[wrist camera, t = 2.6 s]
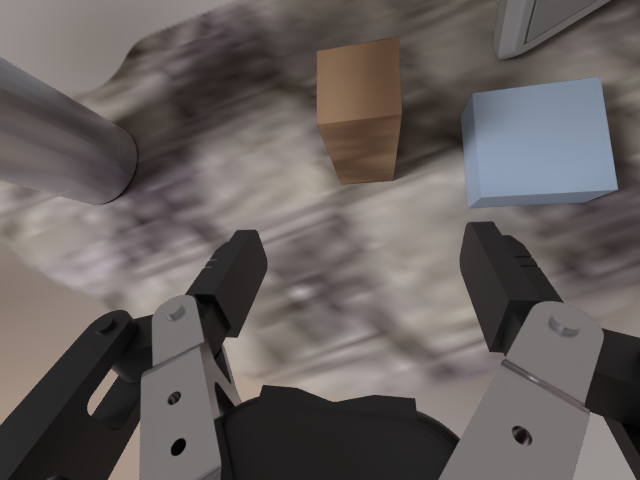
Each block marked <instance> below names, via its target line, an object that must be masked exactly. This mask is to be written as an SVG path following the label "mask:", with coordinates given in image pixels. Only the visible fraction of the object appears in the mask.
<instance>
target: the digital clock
mask: <svg viewBox="0 0 640 480" xmlns="http://www.w3.org/2000/svg"><path fill="white" fill-rule="evenodd" d="M496 1H497V2H498V3H499V6H498V12H497V19H496V25H495V31H494V40H493V50H494V54H495V56H496V57H497V58H498V59H500V60H505V59H508V58H511V57H514V56H517V55H520V54H522V53H524V52H526V51H528V50H530V49H531V48H533V47H535V46H536V45H538V44H540V43H541V42H543V41H545V40H546V39H548V38H550V37H551V36H553V35H555V34H556V33H558V32H560V31H561V30H563V29H564V28H566V27H568V26H569V25H571V24H573V23H574V22H576V21H578V20H579V19H581V18H582V17H584V16H586V15H587V14H589V13H591V12H592V11H594V10H596V9H597V8H599V7H601V6H602V5H604V4H605V3H607V2H609V1H610V0H496Z"/></svg>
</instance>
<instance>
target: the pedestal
mask: <svg viewBox="0 0 640 480" xmlns="http://www.w3.org/2000/svg"><path fill="white" fill-rule="evenodd" d="M461 125H462V138H463V151H464V164H465V176H466V189H467V202H468V208H480V207H500V206H521V205H541V204H561V203H581V202H587V201H589V200H592V199H595V198H597V197H600V196H603V195H605V194H608V193H611V192H613V191H616V190H618V186H617V180H616V173H615V167H614V161H613V154H612V148H611V142H610V135H609V129H608V123H607V116H606V110H605V104H604V97H603V91H602V85H601V78H600V77H594V78H587V79H579V80H571V81H563V82H555V83H548V84H540V85H532V86H524V87H517V88H509V89H501V90H493V91H486V92H478V93H472V95H471V97H470V99H469V101H468V103H467V105H466V107H465V109H464V111H463V113H462V115H461Z"/></svg>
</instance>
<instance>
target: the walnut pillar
mask: <svg viewBox="0 0 640 480" xmlns="http://www.w3.org/2000/svg"><path fill="white" fill-rule="evenodd" d="M401 117H402V105H401V83H400V61H399V39H398V37H394V38H389V39H383V40H377V41H372V42H366V43H361V44H355V45H349V46H344V47H338V48H332V49H327V50H321V51H317V126H318V128H319V131H320V133H321V136H322V138H323V141H324V143H325V146H326V148H327V150H328V153H329V155H330V158H331V160H332V163H333V165H334V168H335V170H336V172H337V175H338V177H339V180H340V182H341V185H343V184H357V183H371V182H385V181H393V178H394V170H395V163H396V155H397V148H398V140H399V133H400V125H401Z"/></svg>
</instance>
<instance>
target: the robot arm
mask: <svg viewBox="0 0 640 480" xmlns="http://www.w3.org/2000/svg"><path fill="white" fill-rule="evenodd" d="M136 163H137V150H136V145H135V142H134V140H133V138H132V137H131V136H130V134H129V133H128V132H127V131H125V130H124V129H123V128H121V127H119V126H117V125H116V124H114V123H112V122H111V121H109V120H107V119H105V118H104V117H102V116H100V115H99V114H97V113H95V112H93V111H92V110H90V109H89V108H87V107H85V106H84V105H82V104H80V103H78V102H77V101H75V100H73V99H72V98H70V97H68V96H66V95H65V94H63V93H61V92H60V91H58V90H56V89H54V88H53V87H51V86H49V85H48V84H46V83H44V82H43V81H41V80H39V79H37V78H36V77H34V76H32V75H31V74H29V73H27V72H25V71H24V70H22V69H20V68H18V67H17V66H15V65H13V64H12V63H10V62H8V61H7V60H5V59H3V58H1V57H0V181H4V182H8V183H12V184H16V185H20V186H23V187H27V188H31V189H35V190H39V191H43V192H46V193H49V194H53V195H57V196H61V197H65V198H69V199H73V200H77V201H81V202H84V203H89V204H93V205H95V204H103V203H106V202H109V201H111V200H113V199H114V198H116V197H117V196H118V195H120V194H121V193H122V192H123V191H124V189H125V188H126V187H127V186H128V184H129V182H130V181H131V179H132V177H133V174H134V172H135V169H136ZM460 270H461V273H462V276H463V279H464V282H465V285H466V287H467V290H468V293H469V296H470V299H471V301H472V304H473V307H474V310H475V312H476V315H477V318H478V321H479V324H480V326H481V329H482V332H483V335H484V338H485V340H486V343H487V346H488V349H489V352H501V353H504V356H505V359H504V360H503V361H502V363H501V364H500V366H499V368H498V370H497V372H496V374H495V375H494V377H493V379H492V381H491V383H490V385H489V387H488V389H487V390H486V392H485V394H484V396H483V398H482V400H481V401H480V403H479V405H478V407H477V409H476V411H475V413H474V415H473V416H472V418H471V420H470V422H469V424H468V426H467V428H466V429H465V431H464V433H463V435H462V437H461V439H460V438H459V437H458V436H457V435H455V434H454V433H453V432H452V431H451V430H450V429H448V428H447V427H446V426H444V425H443V424H442V423H440V422H439V421H437V420H435V419H434V418H432V417H430V416H428V415H426V414H424V413H421V412H419V411H416V402H415V398H404V397H393V396H381V395H371V396H366V397H360V398H355V399H349V400H344V401H339V402H332V401H328V400H326V399H323V398H321V397H318V396H316V395H313V394H311V393H308V392H306V391H303V390H301V389H298V388H292V387H280V386H269V385H263V386H262V390H261V393H260V396H259V397H255V398H253V399H250V400H247V401H245V402H243V403H242V401H241V399H240V397H239V395H238V392H237V390H236V387H235V383H234V380H233V376H232V372H231V369H230V365H229V362H228V358H227V354H226V351H225V348H224V346H223V342H224V340H225V338H226V337H234V338H238V336H239V333H240V331H241V329H242V326H243V324H244V322H245V320H246V317H247V315H248V313H249V310H250V308H251V306H252V304H253V301H254V299H255V297H256V294H257V292H258V290H259V288H260V285H261V283H262V281H263V278H264V276H265V274H266V271H267V257H266V254H265V251H264V248H263V246H262V243H261V240H260V237H259V234H258V232H257V231H256V230H237V231H236V232H235V233H234V235H233V236H232V238H231V239H230V241H229V242H226V243H225V244H223V245H222V246H221V247H220V248H218V249H217V250H216V251H215V253H214V254H213V255H212V257H211V258H210V261H208V262H207V264H206V265H205V268H203V270H202V271H201V272H200V274H199V275H198V277H197V278H196V280H195V281H194V282H193V284H192V285H191V287H190V288H189V289H188V291H187V292H186V294H185V295H180V296H176V297H174V298H172V299H170V300H168V301H166V302H165V303H163V304H162V305H161V306H160V307H159V308H158V309H157V310H156V312H155V313H154V314H153V315H149V316H145V317H141V318H137V319H133V318H132V317H131V316H130V314H129V313H128V312H127V311H124V310H116V311H112V312H109V313H107V314H105V315H103V316H101V317H100V318H98V319H97V320H95V321H94V322H93V323H92V324H90V326H89V327H88V328H87V329H86V330H85V331H84V332H83V333H82V334H81V335H80V336H79V338H78V339H77V340H76V341H75V342H74V343H73V344H72V345H71V347H70V348H69V349H68V350H67V351H66V352H65V353H64V354H63V356H62V357H61V358H60V359H59V360H58V361H57V362H56V363H55V365H54V366H53V367H52V368H51V369H50V370H49V371H48V373H47V374H46V375H45V376H44V377H43V378H42V379H41V380H40V381H39V382H38V384H37V385H36V386H35V387H34V388H33V389H32V390H31V391H30V393H29V394H28V395H27V396H26V397H25V398H24V399H23V400H22V402H21V403H20V404H19V405H18V406H17V407H16V408H15V410H14V411H13V412H12V413H11V414H10V415H9V416H8V417H7V418H6V419H5V421H4V422H3V423H2V424H1V425H0V480H108V478H109V476H110V474H111V472H112V471H113V469H114V467H115V465H116V463H117V462H118V460H119V458H120V456H121V454H122V452H123V451H124V449H125V447H126V445H127V443H128V441H129V439H130V438H131V436H132V434H133V432H134V430H135V428H136V427H137V425H138V423H139V421H140V420H141V421H140V474H139V477H140V478H139V480H572V479H573V476H574V472H575V468H576V464H577V461H578V458H579V454H580V450H581V447H582V443H583V440H584V436H585V432H586V429H587V425H588V421H589V416H590V412H592V413H595V414H598V415H601V416H603V417H604V419H605V421H606V423H607V425H608V426H609V428H610V430H611V432H612V434H613V436H614V438H615V440H616V442H617V444H618V445H619V447H620V449H621V451H622V453H623V455H624V457H625V459H626V461H627V463H628V464H629V466H630V468H631V470H632V472H633V474H634V476H635V478H636V480H640V338H638V337H634V336H630V335H626V334H622V333H618V332H614V331H610V330H606V329H603V328H601V327H600V325H599V324H598V323H597V322H596V321H595V320H594V319H593V318H592V317H591V316H590V315H588V314H587V313H585V312H584V311H582V310H580V309H578V308H576V307H574V306H571V305H568V304H565V303H564V302H563V301H562V299H561V298H560V297H559V295H558V294H557V292H556V291H555V289H554V288H553V286H552V285H551V284H550V282H549V281H548V279H547V278H546V276H545V275H544V273H543V272H542V271H541V269H540V268H539V267H538V265H537V263H536V262H535V260H534V259H533V258H531V255H530V253H529V252H528V250H527V249H526V247H525V246H524V245H523V244H522V243H521V242H519V241H518V240H516V239H515V238H513V237H512V236H510V235H501V233H500V232H499V230H498V228H497V227H496V225H495V224H494V222H492V221H490V222H468V223H467V225H466V228H465V233H464V238H463V243H462V248H461V253H460ZM110 369H112V370H113V371H115V372H116V373H117V374H118V375H119V376H118V377H117V379H116V380H115V382H114V383H113V385H112V386H111V388H110V389H109V391H108V392H107V394H106V395H105V397H104V398H103V400H102V401H101V403H100V404H99V405H98V407H97V408H96V410H95V411H94V413H93V414H92V416H90V415H89V414H88V411H87V405H88V402H89V399H90V397H91V396H92V394H93V393H94V391H95V390H96V389H97V387H98V386H99V384H100V383H101V382H102V380H103V379H104V377H105V376H106V375H107V373H108V371H109V370H110Z"/></svg>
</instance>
